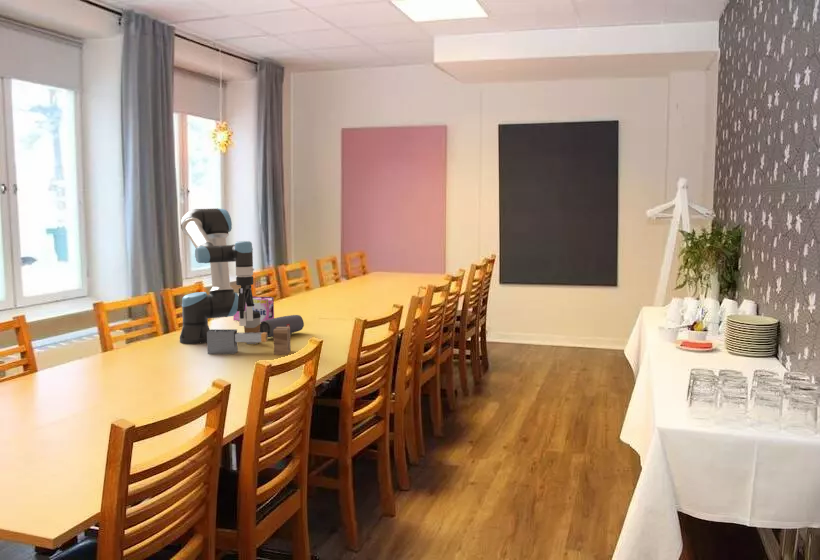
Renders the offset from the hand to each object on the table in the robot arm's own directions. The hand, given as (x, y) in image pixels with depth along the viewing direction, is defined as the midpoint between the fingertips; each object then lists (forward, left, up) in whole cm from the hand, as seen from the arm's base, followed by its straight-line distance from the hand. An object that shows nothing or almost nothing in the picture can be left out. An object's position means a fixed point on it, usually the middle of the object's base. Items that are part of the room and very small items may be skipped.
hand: (246, 323), depth 324 cm
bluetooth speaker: (-37, +9, -14) cm, 41 cm away
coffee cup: (-20, -2, -14) cm, 25 cm away
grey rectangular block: (0, -11, -14) cm, 18 cm away
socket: (0, +16, -14) cm, 21 cm away
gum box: (-82, -16, -14) cm, 85 cm away
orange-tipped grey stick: (0, -4, -8) cm, 9 cm away
